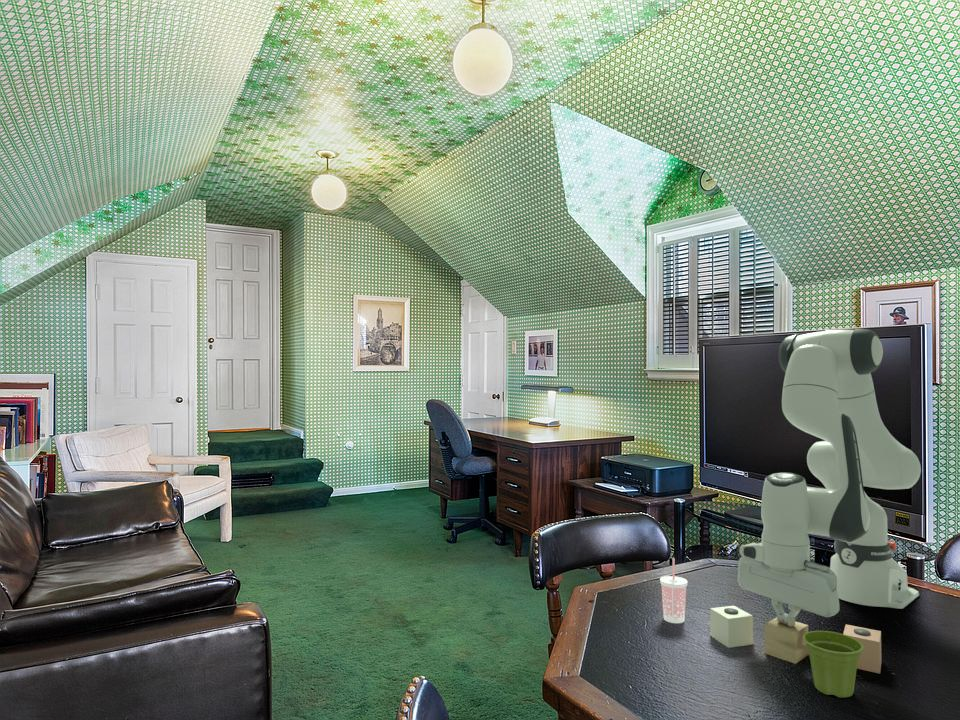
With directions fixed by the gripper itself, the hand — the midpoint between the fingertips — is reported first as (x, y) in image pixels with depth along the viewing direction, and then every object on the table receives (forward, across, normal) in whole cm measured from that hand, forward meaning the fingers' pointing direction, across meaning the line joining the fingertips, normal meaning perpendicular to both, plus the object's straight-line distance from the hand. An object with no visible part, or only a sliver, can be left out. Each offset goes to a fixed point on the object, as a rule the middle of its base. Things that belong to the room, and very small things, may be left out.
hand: (786, 623), depth 127 cm
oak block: (+6, 0, 0) cm, 6 cm away
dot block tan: (+6, -10, -9) cm, 15 cm away
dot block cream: (+6, +10, +4) cm, 12 cm away
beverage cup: (+6, +24, +6) cm, 25 cm away
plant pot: (+6, -13, +6) cm, 16 cm away
